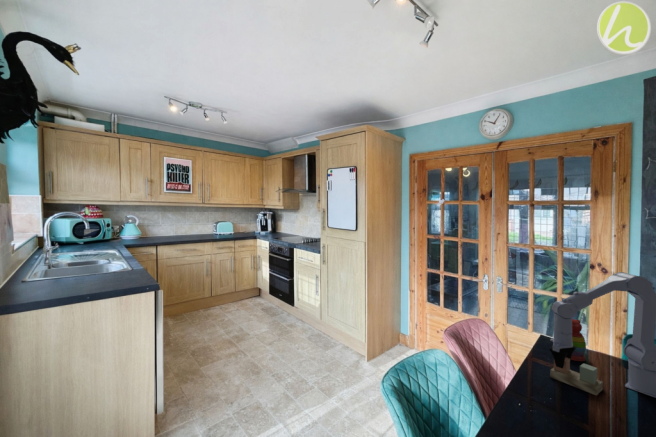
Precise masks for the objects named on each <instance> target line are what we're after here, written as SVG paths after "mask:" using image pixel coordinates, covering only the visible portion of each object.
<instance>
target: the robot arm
mask: <svg viewBox="0 0 656 437" xmlns="http://www.w3.org/2000/svg"><path fill="white" fill-rule="evenodd" d="M614 291H615V292H616V291H617V292H627V293H628V294H630V295H631V296H632V297H634V299H635V300H634V310H633V324H632V326H633V327H632V337H631V338H628V339H627V341H626V344H625V346H624V347H623V353H624V356H625V357H627V361H628V381H627V382H626V383H625V384H624V387H625V388H628V389H630V390H632V391H635V392H639V393H642V394H644V395H647V396H650V397H653V398H656V344H655V335H656V291H655V290H654V288H653V282H652V281H650V280H649V279H647V278H646V277H644V276H641V275H635V274H631V273H627V272H623V271H618V272H616V273H614V274H612V275H609V276H608V277H607V278H606V279H605V280H603V281H602V282H600V283H598V284H597V285H595V286H594V287H592V288H589V289H588V290H587V291H585V292H584V291H574V292H572V294H571V295H570V296H567V297H566V298H565V297H564V298H562V299H561V300H556V301H554V302H553V303H552V305H551V306H550V310H551V311H552V313H553V338H550V339H549V340H550V342H552V346H550V347H549V348H548V349H549V351H550V353H551V355H552V356H553V362H554V361H555V364H556V366H557V367H559V368H563V367H564V361H565V358H569V359H570V361H572V360H571V357H572V354H573V352H574V350H575V349H576V347H575V346H573V344H572V340H573V339H572V319H574V317H575V316H576V315H577V313H578V312H579V311H581V310H583V309H585V308H587V307H590V306H591V305H593V302H594V300H596V299H598V298H600V297H603V296H605V295H607V294H609V293H611V292H614Z"/></svg>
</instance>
